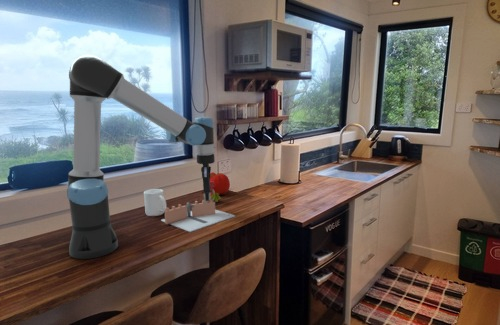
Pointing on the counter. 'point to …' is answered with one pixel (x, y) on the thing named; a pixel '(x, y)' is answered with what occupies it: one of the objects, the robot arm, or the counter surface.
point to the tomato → (220, 183)
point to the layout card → (201, 220)
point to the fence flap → (203, 208)
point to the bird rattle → (213, 193)
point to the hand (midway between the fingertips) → (207, 206)
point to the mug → (154, 202)
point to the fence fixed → (177, 213)
